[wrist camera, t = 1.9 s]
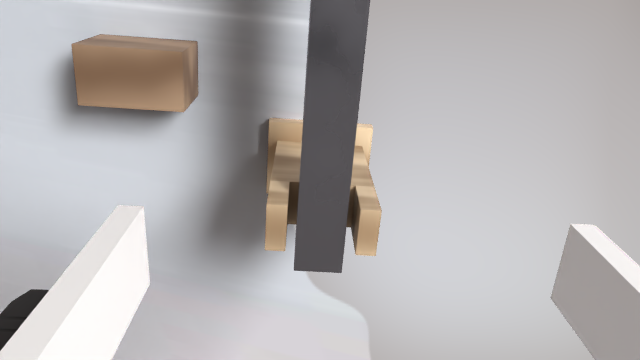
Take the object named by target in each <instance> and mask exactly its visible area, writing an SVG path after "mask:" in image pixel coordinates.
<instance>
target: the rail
mask: <svg viewBox="0 0 640 360" xmlns="http://www.w3.org/2000/svg"><path fill="white" fill-rule="evenodd" d="M369 6H370V0H311V2H310V18H309V34H308V49H307V65H306V81H305V97H304V112H303V128H302V144H301V160H300V175H299V191H298V207H297V223H296V238H295V256H294V270H295V271H315V272H334V273H341V272H342V263H343V254H344V244H345V234H346V225H347V216H348V206H349V197H350V187H351V178H352V168H353V158H354V149H355V139H356V130H357V120H358V110H359V101H360V91H361V81H362V72H363V63H364V54H365V44H366V35H367V25H368V15H369Z"/></svg>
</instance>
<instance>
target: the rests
mask: <svg viewBox="0 0 640 360" xmlns="http://www.w3.org/2000/svg"><path fill="white" fill-rule="evenodd" d="M72 53H73V62H74V72H75V81H76V90H77V100H78V105H83V106H98V107H113V108H129V109H144V110H159V111H175V112H184V111H185V110H186V109H187V108H188V107H189V105H190V104H191V103H192V102H193V101H194V99H195V98H196V97H197V96H198V45H197V41H186V40H172V39H158V38H145V37H131V36H117V35H103V34H100V35H97V36H94V37H91V38H88V39H85V40H82V41H79V42H76V43H73V44H72Z"/></svg>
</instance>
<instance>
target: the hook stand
mask: <svg viewBox="0 0 640 360" xmlns="http://www.w3.org/2000/svg"><path fill="white" fill-rule="evenodd" d="M302 128H303V120H295V119H280V118H270V119H269V135H268V161H267V188H266V193H268V199H267V205H266V231H265V250H272V251H285V246H286V233H287V224H296V223H297V207H298V191H299V175H300V160H301V144H302ZM372 134H373V127H372V125H371V124H357V130H356V139H355V149H354V158H353V168H352V178H351V187H350V197H349V206H348V216H347V225H346V227H351V230H352V236H353V241H354V248H355V254H356V255H367V256H376V249H377V242H378V234H379V227H380V219H381V211H382V210H381V207H380V204H379V201H378V197H377V194H376V191H375V188H374V184H373V181H372V178H371V174H370V171H369V159H370V150H371V142H372Z"/></svg>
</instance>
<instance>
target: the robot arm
mask: <svg viewBox="0 0 640 360" xmlns="http://www.w3.org/2000/svg"><path fill="white" fill-rule="evenodd" d="M149 285H150V276H149V265H148V253H147V241H146V229H145V218H144V206H126V205H118V206H117V207H116V208H115V209H114V211H113V212H112V213H111V214H110V216H109V217H108V218H107V219H106V220H105V222H104V223H103V224H102V225H101V227H100V228H99V229H98V230H97V232H96V233H95V234H94V235H93V237H92V238H91V239H90V240H89V242H88V243H87V244H86V245H85V247H84V248H83V249H82V250H81V252H80V253H79V254H78V255H77V257H76V258H75V259H74V260H73V261H72V263H71V264H70V265H69V266H68V268H67V269H66V270H65V271H64V273H63V274H62V275H61V276H60V278H59V279H58V280H57V281H56V283H55V284H54V285H53V286H52V288H51V289H50V290H34V289H31V290H29V291H28V292H26V293H25V294H23V295H21V296H20V297H18V298H17V299H15V300H13V301H12V302H11V303H10V304H9V305H8V306H7V307H6V308H5V310H4V311H3V312H2V313H1V314H0V360H112V358H113V356H114V354H115V352H116V350H117V348H118V346H119V344H120V342H121V340H122V338H123V336H124V334H125V332H126V330H127V328H128V326H129V324H130V322H131V320H132V318H133V316H134V314H135V312H136V310H137V308H138V306H139V305H140V303H141V301H142V299H143V297H144V295H145V293H146V291H147V289H148V287H149ZM551 299H552V301H553V302H554V303H555V305H556V306H557V308H558V309H559V310H560V312H561V313H562V314H563V316H564V317H565V319H566V320H567V322H568V323H569V324H570V326H571V327H572V328H573V330H574V331H575V333H576V334H577V335H578V337H579V338H580V339H581V341H582V342H583V344H584V345H585V347H586V348H587V349H588V351H589V352H590V353H591V355H592V356H593V358H594V359H595V360H640V266H639V265H638V264H637V263H636V262H635V261H633V260H632V259H631V258H630V257H629V256H628V255H627V254H626V253H625V252H624V251H623V250H621V249H620V248H619V247H618V246H617V245H616V244H615V243H614V242H613V241H612V240H611V239H609V238H608V237H607V236H606V235H605V234H604V233H603V232H602V231H601V230H600V229H599V228H597V227H596V226H595V225H585V224H570V228H569V231H568V235H567V239H566V243H565V246H564V250H563V254H562V257H561V261H560V265H559V269H558V272H557V276H556V280H555V284H554V288H553V291H552V295H551Z"/></svg>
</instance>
